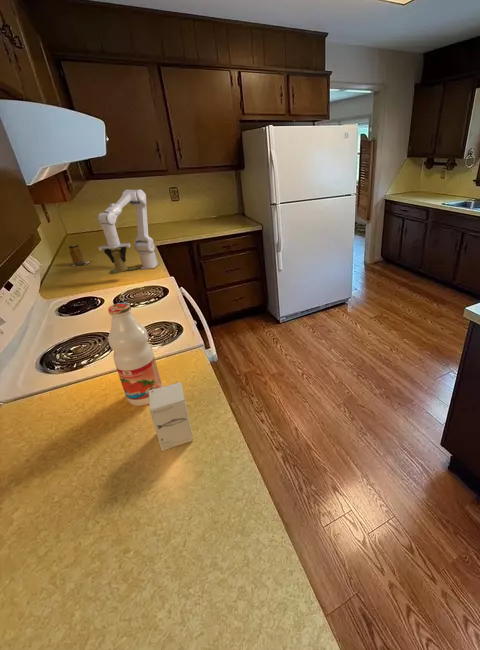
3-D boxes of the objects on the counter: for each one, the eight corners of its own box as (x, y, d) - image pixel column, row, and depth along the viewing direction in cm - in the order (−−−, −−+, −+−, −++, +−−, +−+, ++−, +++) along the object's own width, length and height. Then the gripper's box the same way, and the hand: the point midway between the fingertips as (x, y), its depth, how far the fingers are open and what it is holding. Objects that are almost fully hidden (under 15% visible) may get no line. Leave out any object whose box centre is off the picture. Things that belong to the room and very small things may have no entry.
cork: (129, 267, 179) (124, 248, 174) (123, 271, 173) (117, 251, 169) (119, 267, 179) (113, 248, 175) (112, 271, 174) (106, 251, 169)
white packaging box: (161, 452, 75) (148, 410, 69) (159, 430, 81) (147, 389, 75) (194, 441, 77) (184, 400, 72) (190, 420, 83) (181, 380, 78)
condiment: (76, 262, 211) (70, 244, 206) (90, 261, 212) (84, 243, 207) (71, 266, 205) (64, 247, 200) (85, 265, 206) (79, 246, 201)
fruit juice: (169, 385, 96) (147, 298, 84) (152, 408, 88) (124, 315, 76) (140, 383, 98) (114, 297, 86) (120, 405, 89) (87, 314, 77)
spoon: (138, 268, 197) (138, 266, 196) (137, 270, 193) (137, 268, 192) (111, 271, 193) (110, 269, 192) (109, 273, 189) (109, 271, 189)
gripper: (94, 240, 163) (102, 265, 169) (125, 236, 167) (132, 262, 173) (97, 236, 170) (105, 261, 175) (128, 233, 173) (134, 258, 179)
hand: (119, 261), depth 175 cm, fingers closed on cork, 5 cm apart
